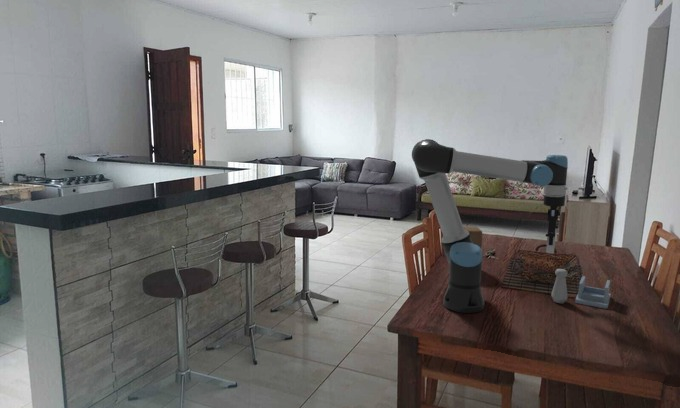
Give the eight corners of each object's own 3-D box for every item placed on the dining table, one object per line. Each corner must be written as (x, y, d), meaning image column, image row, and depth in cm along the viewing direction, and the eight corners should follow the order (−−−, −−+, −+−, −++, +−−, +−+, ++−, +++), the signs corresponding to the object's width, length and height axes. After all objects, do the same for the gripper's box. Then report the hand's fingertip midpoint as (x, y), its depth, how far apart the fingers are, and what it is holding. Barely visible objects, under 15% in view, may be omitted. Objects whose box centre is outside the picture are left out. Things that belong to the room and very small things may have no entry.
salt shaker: (568, 304, 186) (571, 272, 183) (552, 303, 187) (555, 271, 185) (564, 299, 191) (567, 267, 189) (549, 298, 193) (552, 266, 190)
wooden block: (480, 273, 223) (482, 231, 219) (458, 273, 223) (460, 231, 219) (474, 266, 233) (477, 226, 229) (454, 266, 233) (455, 226, 229)
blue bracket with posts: (607, 308, 182) (609, 289, 181) (575, 302, 188) (576, 284, 186) (610, 297, 194) (612, 279, 192) (579, 291, 199) (581, 274, 198)
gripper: (564, 201, 174) (560, 258, 178) (565, 191, 197) (561, 241, 200) (542, 199, 177) (538, 255, 181) (545, 190, 200) (542, 240, 204)
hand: (550, 248), depth 191 cm, fingers open, 13 cm apart
